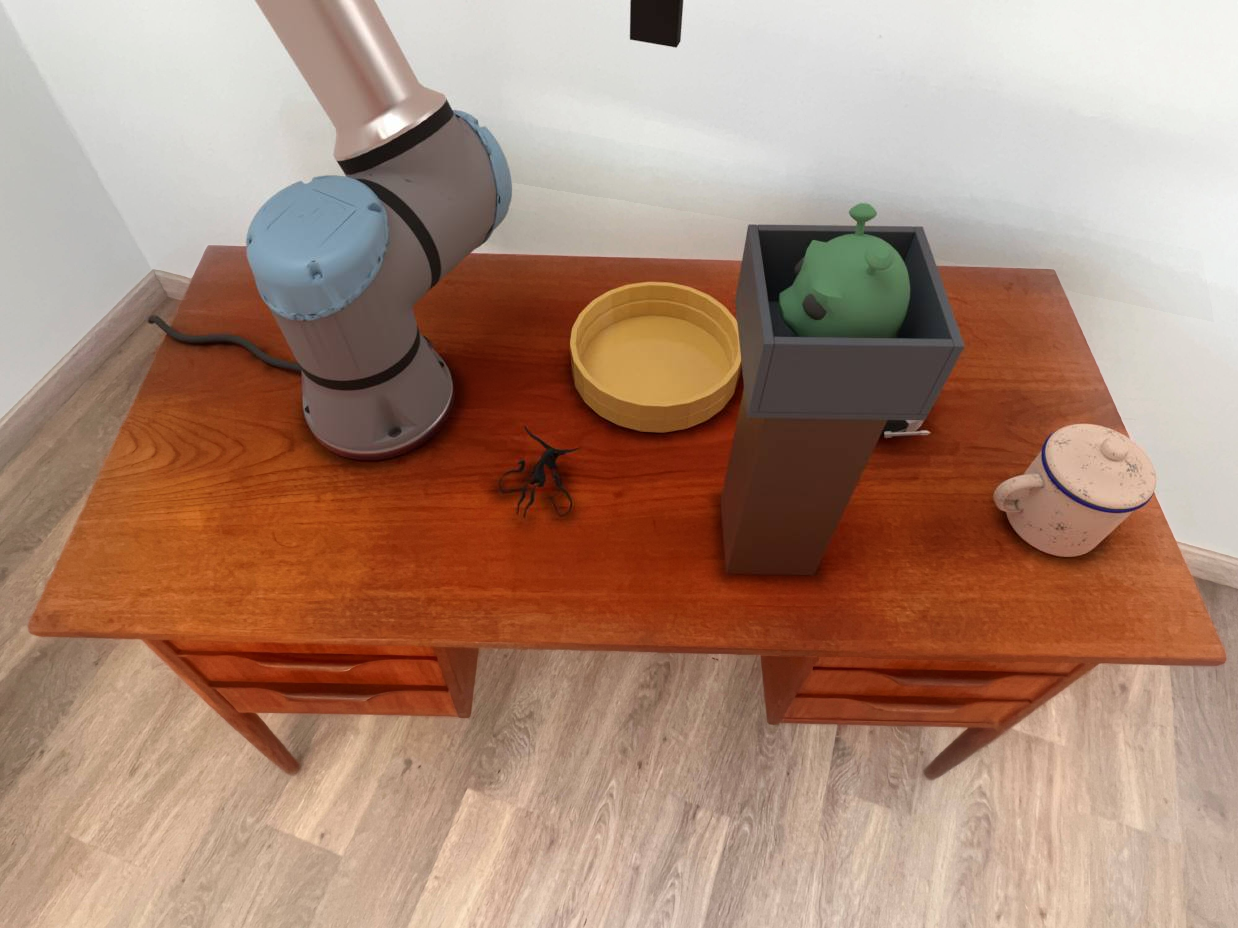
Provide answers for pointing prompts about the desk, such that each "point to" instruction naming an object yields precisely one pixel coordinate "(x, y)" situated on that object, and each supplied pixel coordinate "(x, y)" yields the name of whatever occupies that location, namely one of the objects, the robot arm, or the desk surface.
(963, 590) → the desk surface
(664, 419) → the bowl
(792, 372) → the bin
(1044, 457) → the teacup with lid
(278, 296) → the robot arm
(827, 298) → the alien toy
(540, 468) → the creature
